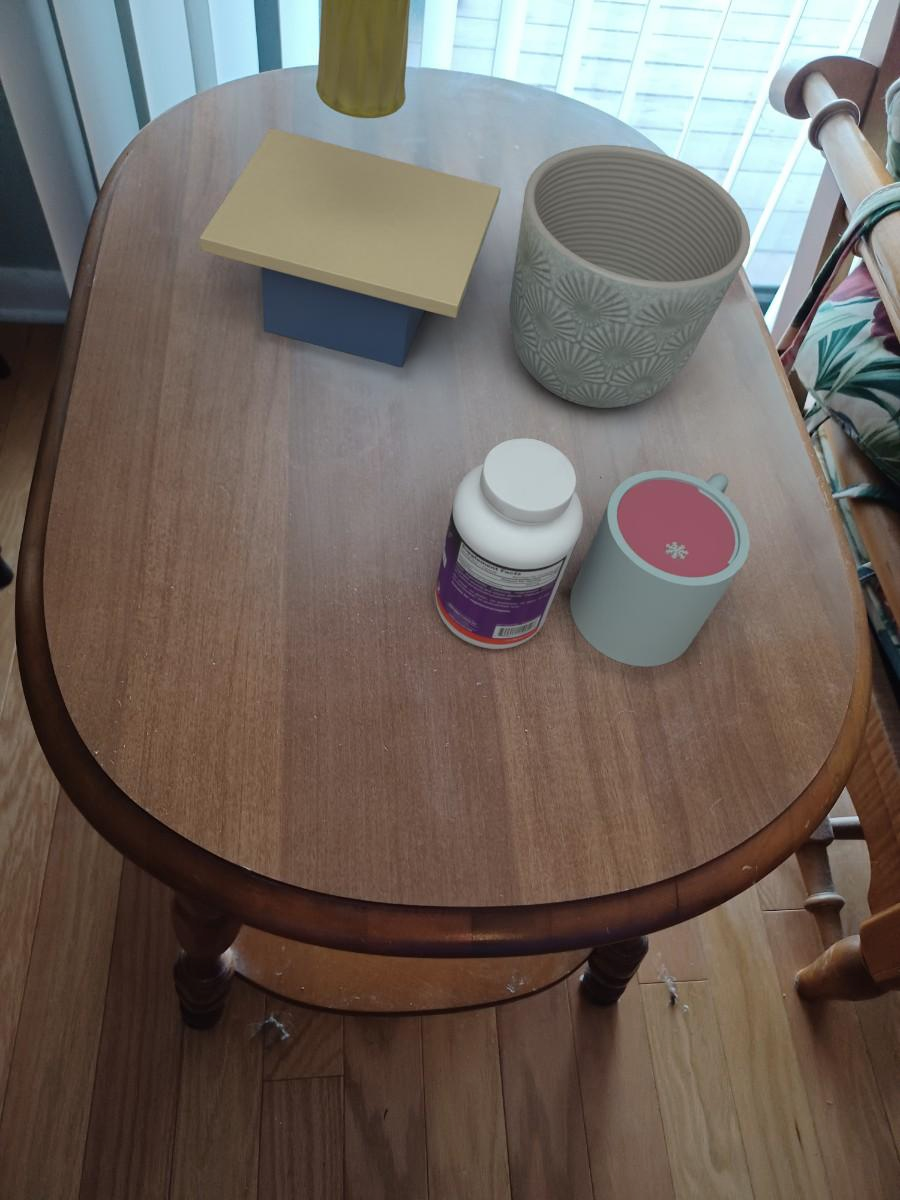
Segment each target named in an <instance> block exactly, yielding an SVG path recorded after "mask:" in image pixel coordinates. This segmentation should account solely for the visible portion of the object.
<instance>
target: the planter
mask: <svg viewBox="0 0 900 1200" xmlns="http://www.w3.org/2000/svg"><path fill="white" fill-rule="evenodd" d="M522 203H523V204H522V211H521V216H520V217H521V218H520V224H519V231H518V239H517V247H516V253H515V261H514V268H513V275H512V283H511V290H510V297H509V305H508V306H509V328H510V334H511V339H512V342H513V345H514V348H515V350H516V353H517V356H518V358H519V360H520V362H521V363H522V364H523V366H524V368H525V369H526V370H527V371H528V372H529V374H530V375H531V376H532V377H533V378H534V379H535V380H536V381H537V382H538V383H539V384H540V385H541V386H542V387H544V388H545V389H546V390H547V391H548V392H550V393H552V394H553V395H555V396H557V397H559V398H561V399H564V400H565V401H568V402H570V403H574V404H577V405H580V406H584V407H590V408H596V409H610V408H612V409H613V408H621V407H626V406H631V405H634V404H637V403H640V402H643V401H645V400H647V399H649V398H652V397H653V396H654V395H656V394H657V393H660V391H662V390H663V389H664V388H666V386H668V385H669V384H670V383H671V382H672V381H673V380H674V379H675V378H676V377H677V376H678V375H679V373H681V371H682V370H683V369H684V368H685V366H686V365H687V363H688V362H689V361H690V358H691V357H692V355H693V354H694V353H695V350H696V349H697V347H698V345H699V343H700V341H701V339H702V338H703V336H704V334H705V333H706V331H707V329H708V327H709V325H710V323H711V321H712V320H713V318H714V316H715V314H716V312H717V311H718V309H719V307H720V305H721V303H722V302H723V300H724V298H725V296H726V295H727V293H728V291H729V289H730V288H731V286H732V283H733V281H734V280H735V278H736V276H737V275H738V272H739V271H740V269H741V268H742V265H743V264H744V262H745V261H746V258H747V256H748V253H749V250H750V246H751V230H750V228H749V223H748V220H747V218H746V215H745V214H744V212H743V210H742V208H741V206H740V205H739V204H738V202H737V201H736V199H734V198H733V196H731V194H730V193H729V192H728V191H727V190H726V189H725V188H724V187H723V186H721V185H720V184H719V183H717V181H716V180H714V179H712V177H710V176H708V175H707V174H705V173H704V172H702V171H700V170H699V169H697V168H695V167H693V166H691V165H689V164H688V163H685V162H683V161H681V160H678V159H676V158H673V157H671V156H668V155H665V154H663V153H660V152H656V151H653V150H648V149H645V148H638V147H633V146H627V145H617V144H616V145H615V144H597V145H595V144H594V145H586V146H579V147H573V148H570V149H568V150H567V149H566V150H564V151H561V152H559V153H556V154H554V155H552V156H550V157H549V158H547V159H546V160H544V161H543V162H541V163H540V164H539V165H538V166H537V167H536V168H535V169H534V171H533V172H532V173H531V174H530V176H529V178H528V180H527V183H526V186H525V189H524V195H523V202H522Z"/></svg>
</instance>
